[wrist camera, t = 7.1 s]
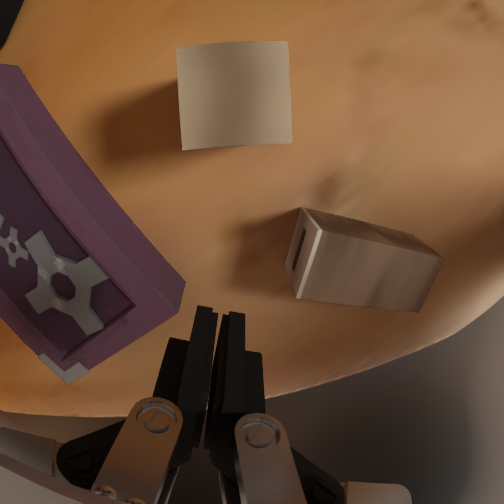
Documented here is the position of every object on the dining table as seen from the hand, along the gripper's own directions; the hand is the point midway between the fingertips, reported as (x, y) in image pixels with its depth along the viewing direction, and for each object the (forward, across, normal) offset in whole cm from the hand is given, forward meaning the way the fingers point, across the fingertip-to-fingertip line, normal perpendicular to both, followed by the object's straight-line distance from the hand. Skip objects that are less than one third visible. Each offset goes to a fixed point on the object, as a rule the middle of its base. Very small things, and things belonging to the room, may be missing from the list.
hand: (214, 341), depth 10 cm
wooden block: (+11, -5, 0) cm, 12 cm away
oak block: (+14, +2, -9) cm, 16 cm away
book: (+13, +18, +3) cm, 22 cm away
